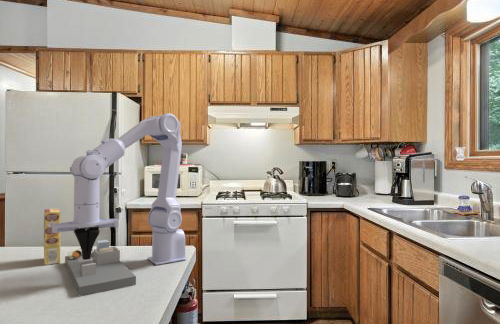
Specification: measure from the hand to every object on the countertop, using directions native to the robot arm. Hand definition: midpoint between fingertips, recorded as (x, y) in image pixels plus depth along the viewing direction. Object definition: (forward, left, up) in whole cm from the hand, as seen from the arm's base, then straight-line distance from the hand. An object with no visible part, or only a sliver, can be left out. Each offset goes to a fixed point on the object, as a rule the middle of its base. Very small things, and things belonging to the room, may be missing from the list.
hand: (86, 258), depth 79 cm
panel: (-3, -5, -5) cm, 8 cm away
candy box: (+6, -25, -6) cm, 26 cm away
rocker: (-1, -17, -2) cm, 17 cm away
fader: (-7, -16, -3) cm, 18 cm away
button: (-6, -8, -3) cm, 11 cm away
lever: (0, 0, -2) cm, 2 cm away
